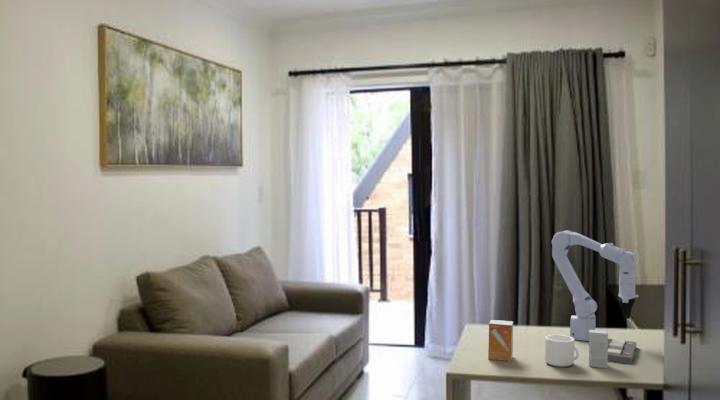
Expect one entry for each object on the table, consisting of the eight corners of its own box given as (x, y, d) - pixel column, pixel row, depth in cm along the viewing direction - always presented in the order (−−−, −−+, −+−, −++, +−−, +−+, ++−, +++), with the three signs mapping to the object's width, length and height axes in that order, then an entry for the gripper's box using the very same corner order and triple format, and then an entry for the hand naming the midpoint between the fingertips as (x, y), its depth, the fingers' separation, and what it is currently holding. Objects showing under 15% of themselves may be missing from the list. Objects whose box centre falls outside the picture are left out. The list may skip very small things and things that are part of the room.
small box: (488, 359, 226) (488, 323, 226) (490, 354, 232) (490, 319, 232) (511, 361, 224) (512, 325, 223) (512, 356, 230) (513, 320, 229)
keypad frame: (594, 359, 227) (594, 352, 227) (602, 343, 247) (602, 337, 247) (631, 364, 222) (631, 357, 221) (636, 347, 242) (636, 341, 242)
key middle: (609, 351, 234) (609, 344, 233) (610, 348, 237) (610, 342, 237) (622, 353, 231) (622, 346, 231) (623, 349, 235) (623, 343, 235)
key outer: (606, 358, 227) (607, 351, 227) (608, 354, 231) (608, 348, 231) (620, 359, 225) (620, 353, 225) (621, 356, 229) (621, 349, 229)
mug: (586, 365, 220) (587, 339, 220) (570, 371, 213) (571, 344, 213) (555, 357, 229) (555, 332, 229) (539, 363, 222) (539, 337, 222)
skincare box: (607, 365, 221) (607, 330, 220) (607, 368, 216) (608, 333, 216) (588, 363, 222) (589, 329, 222) (588, 366, 218) (589, 332, 218)
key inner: (611, 348, 240) (611, 342, 240) (612, 345, 244) (612, 339, 244) (623, 349, 238) (624, 343, 238) (625, 346, 242) (625, 340, 241)
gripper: (637, 286, 236) (636, 323, 237) (639, 281, 249) (639, 315, 250) (616, 285, 240) (616, 321, 240) (620, 279, 253) (620, 313, 253)
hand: (626, 318), depth 245 cm, fingers closed
